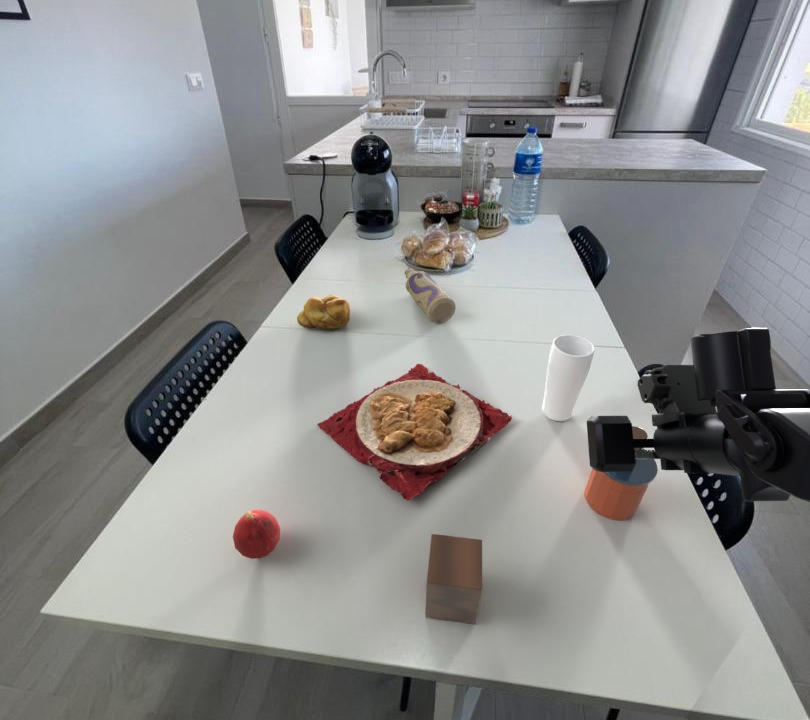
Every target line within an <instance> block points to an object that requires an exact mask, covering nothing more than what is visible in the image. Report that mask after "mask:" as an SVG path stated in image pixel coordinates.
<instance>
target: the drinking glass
mask: <svg viewBox="0 0 810 720" xmlns="http://www.w3.org/2000/svg"><path fill="white" fill-rule="evenodd" d="M595 349H596V348H595V345H594V344H593V342H592V341H590V340H588V339H587V338H584V337H583V336H579V335H575V334H561V335H559V336H557V337H555V338H554V339H553V341H552V344H551V347H550V350H549V356H548V360H547V366H546V377H545V384H544V393H543V400H542V405H541V412H542V413H543V415H544V417H546V418H548V419H549V420H551V421H554V422H555V421H556V422H565V421H568V420H569V419H570V418H571V417H572V415H573V413H574V409H575V407H576V404H577V401H578V399H579V396H580V394H581V391H582V389H583V387H584V384H585V382H586V379H587V377H588V374H589V372H590V369H591V366H592V363H593V360H594V354H595V351H596V350H595Z"/></svg>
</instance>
